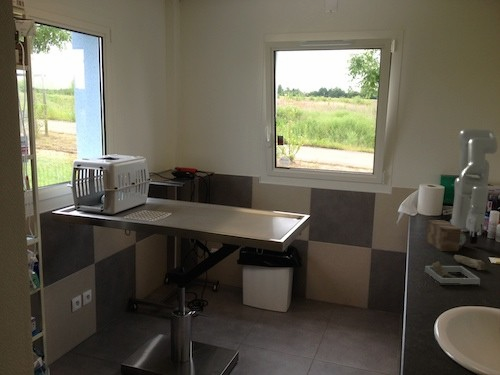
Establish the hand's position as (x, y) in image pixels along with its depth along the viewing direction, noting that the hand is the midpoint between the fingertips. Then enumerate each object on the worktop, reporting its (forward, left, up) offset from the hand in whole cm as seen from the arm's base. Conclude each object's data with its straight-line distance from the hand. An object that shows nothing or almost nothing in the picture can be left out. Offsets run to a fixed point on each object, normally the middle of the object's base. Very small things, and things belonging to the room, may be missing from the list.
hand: (473, 243), depth 242 cm
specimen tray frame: (+45, -36, -2) cm, 57 cm away
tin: (0, -12, -2) cm, 12 cm away
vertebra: (+45, -39, -2) cm, 60 cm away
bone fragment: (+30, -19, -2) cm, 36 cm away
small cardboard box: (0, -16, -2) cm, 16 cm away
